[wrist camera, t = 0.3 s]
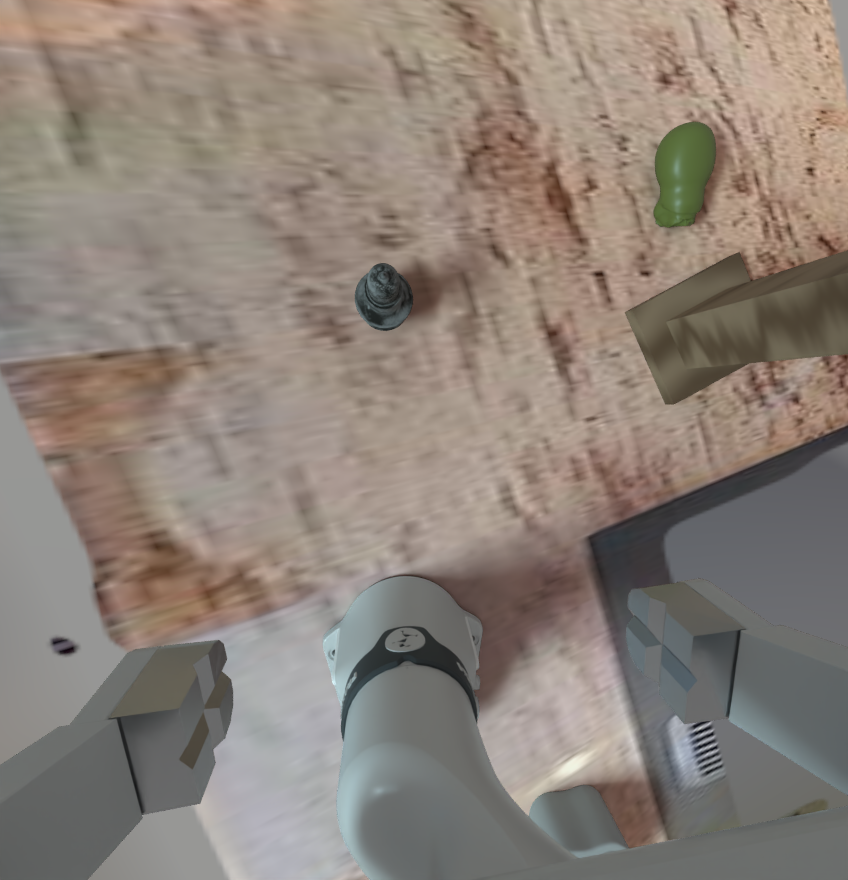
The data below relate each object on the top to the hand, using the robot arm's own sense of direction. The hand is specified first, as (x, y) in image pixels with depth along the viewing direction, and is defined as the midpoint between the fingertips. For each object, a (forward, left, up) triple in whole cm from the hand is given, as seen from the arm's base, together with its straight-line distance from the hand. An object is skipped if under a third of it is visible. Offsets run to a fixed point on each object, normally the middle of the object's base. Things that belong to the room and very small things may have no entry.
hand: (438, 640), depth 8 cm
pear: (+27, -33, -40) cm, 58 cm away
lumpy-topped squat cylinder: (-53, -20, -40) cm, 69 cm away
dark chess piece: (+15, 0, -40) cm, 42 cm away
